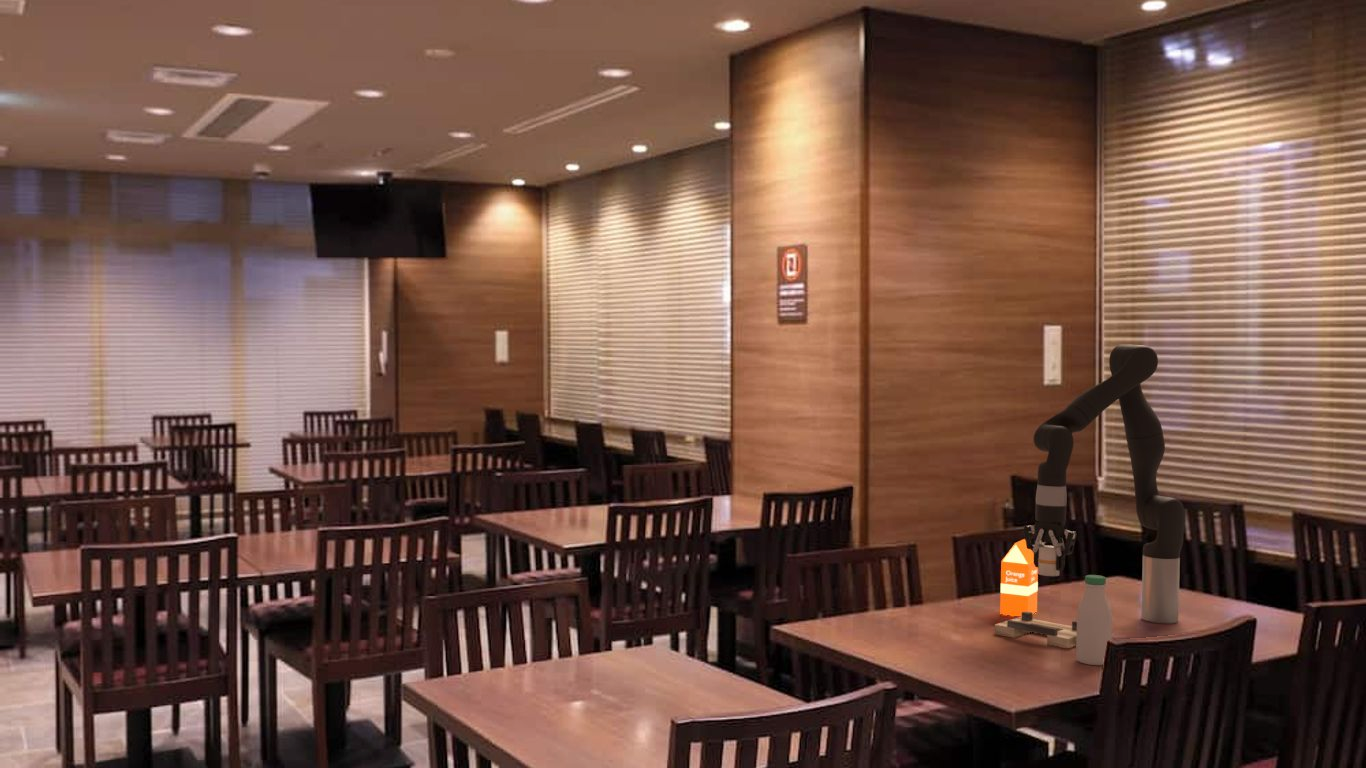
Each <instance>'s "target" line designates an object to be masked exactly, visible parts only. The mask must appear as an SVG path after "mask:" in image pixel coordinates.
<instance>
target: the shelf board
mask: <svg viewBox="0 0 1366 768" xmlns="http://www.w3.org/2000/svg"><path fill="white" fill-rule="evenodd" d="M1030 632H1031V633H1032V632H1034V633H1033V634H1037V633H1041V634H1040V635H1042V634H1046V635H1045V636H1046V645H1047V644H1049V645H1048V646H1052V645H1053V646H1052V647H1057V646H1058V648H1063V649H1067V648H1068V649H1070V648H1074V647H1076V638H1077V619H1076V620H1073V621H1072V622H1071V625H1068V624H1067V625H1066V624H1061V623H1056V622H1052V621H1051V622H1049V621H1046V620H1040V619H1035V618H1033V612H1028V611H1024V612H1022V617H1015V618H1013V619H1008V620H1005V621H1002V622H999V623H996V624H994V635H998V636H1003V637H1008V638H1014V639H1015V638H1018V637H1020V636H1024V634H1025V635H1027V633H1028V634H1031V633H1030ZM1073 646H1074V647H1073Z"/></svg>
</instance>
